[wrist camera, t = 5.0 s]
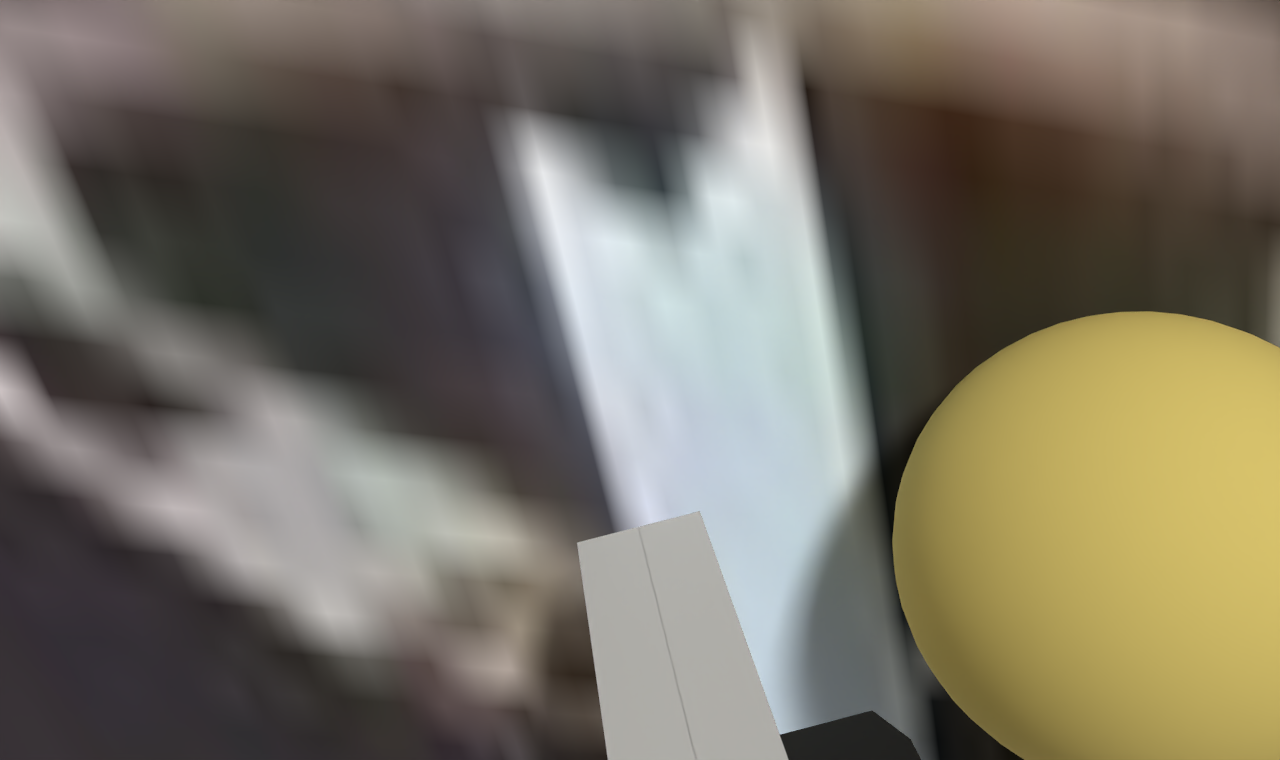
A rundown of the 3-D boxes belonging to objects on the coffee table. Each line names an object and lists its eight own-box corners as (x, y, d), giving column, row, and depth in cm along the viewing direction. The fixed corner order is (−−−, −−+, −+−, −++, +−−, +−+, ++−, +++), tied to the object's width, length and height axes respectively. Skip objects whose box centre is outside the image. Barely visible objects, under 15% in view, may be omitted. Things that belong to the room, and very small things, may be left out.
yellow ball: (825, 465, 11) (895, 266, 16) (896, 887, 13) (939, 602, 18) (1510, 440, 9) (1361, 222, 14) (1469, 942, 11) (1352, 607, 16)
